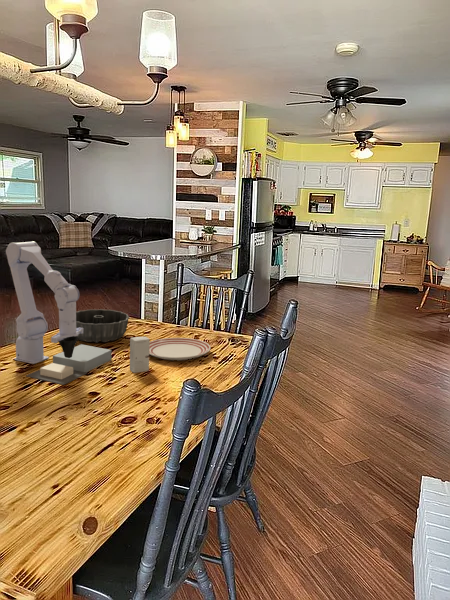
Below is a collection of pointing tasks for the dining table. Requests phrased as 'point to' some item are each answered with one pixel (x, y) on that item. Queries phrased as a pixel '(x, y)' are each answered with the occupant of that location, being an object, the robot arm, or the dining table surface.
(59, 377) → the cream rectangular block
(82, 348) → the grey flat block
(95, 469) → the dining table surface
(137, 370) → the skincare box
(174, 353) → the dinner plate
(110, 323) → the bundt pan
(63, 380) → the mat
